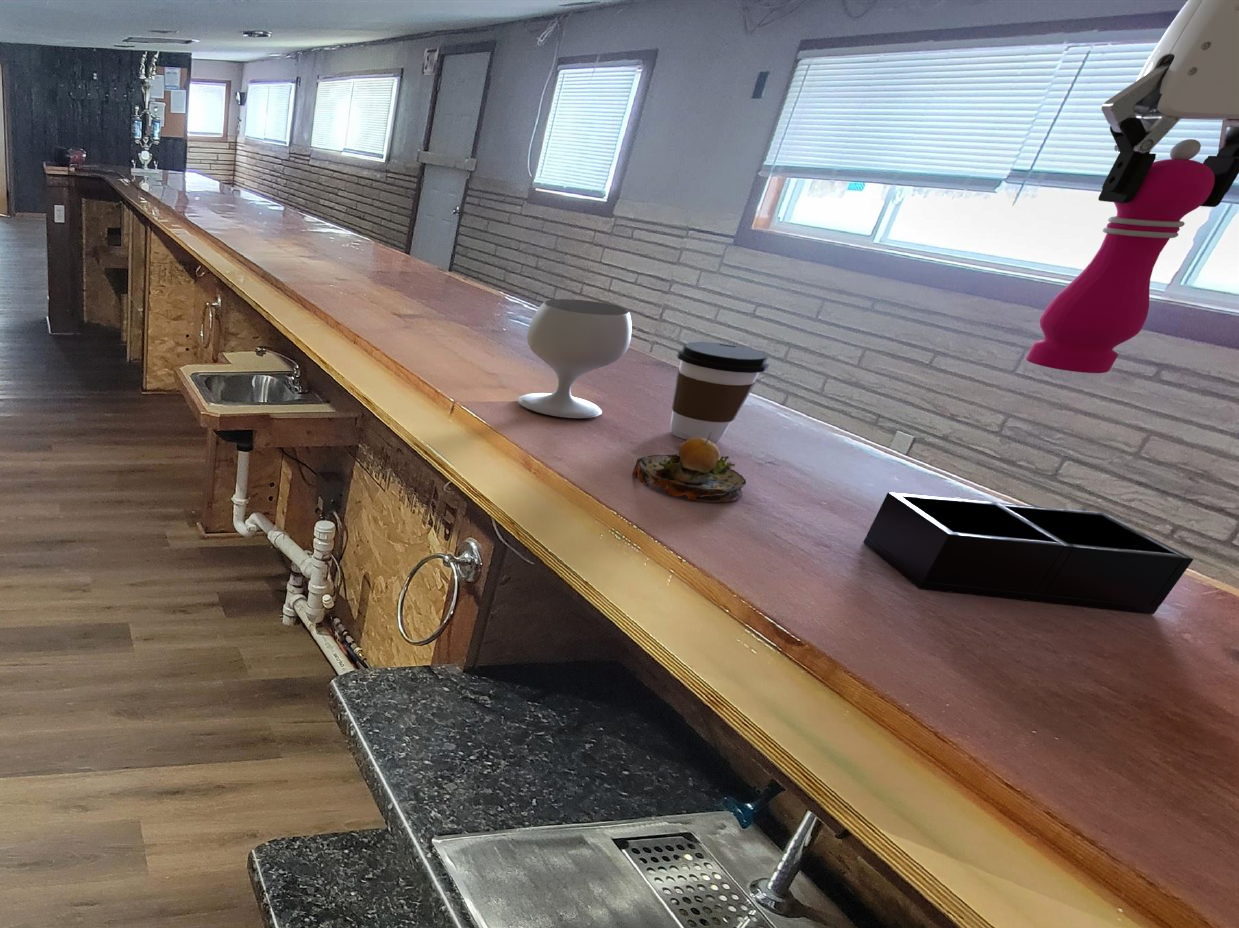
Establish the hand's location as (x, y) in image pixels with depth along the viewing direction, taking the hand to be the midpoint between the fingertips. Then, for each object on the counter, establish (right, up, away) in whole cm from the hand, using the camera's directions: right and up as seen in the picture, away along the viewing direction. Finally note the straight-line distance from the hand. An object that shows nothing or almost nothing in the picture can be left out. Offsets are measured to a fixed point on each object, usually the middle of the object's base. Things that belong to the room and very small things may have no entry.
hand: (1156, 201), depth 76 cm
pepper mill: (-1, -13, +8) cm, 15 cm away
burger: (-28, -23, +25) cm, 44 cm away
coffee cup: (-17, -14, +42) cm, 47 cm away
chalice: (-32, -8, +51) cm, 61 cm away
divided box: (-8, -34, +7) cm, 36 cm away
